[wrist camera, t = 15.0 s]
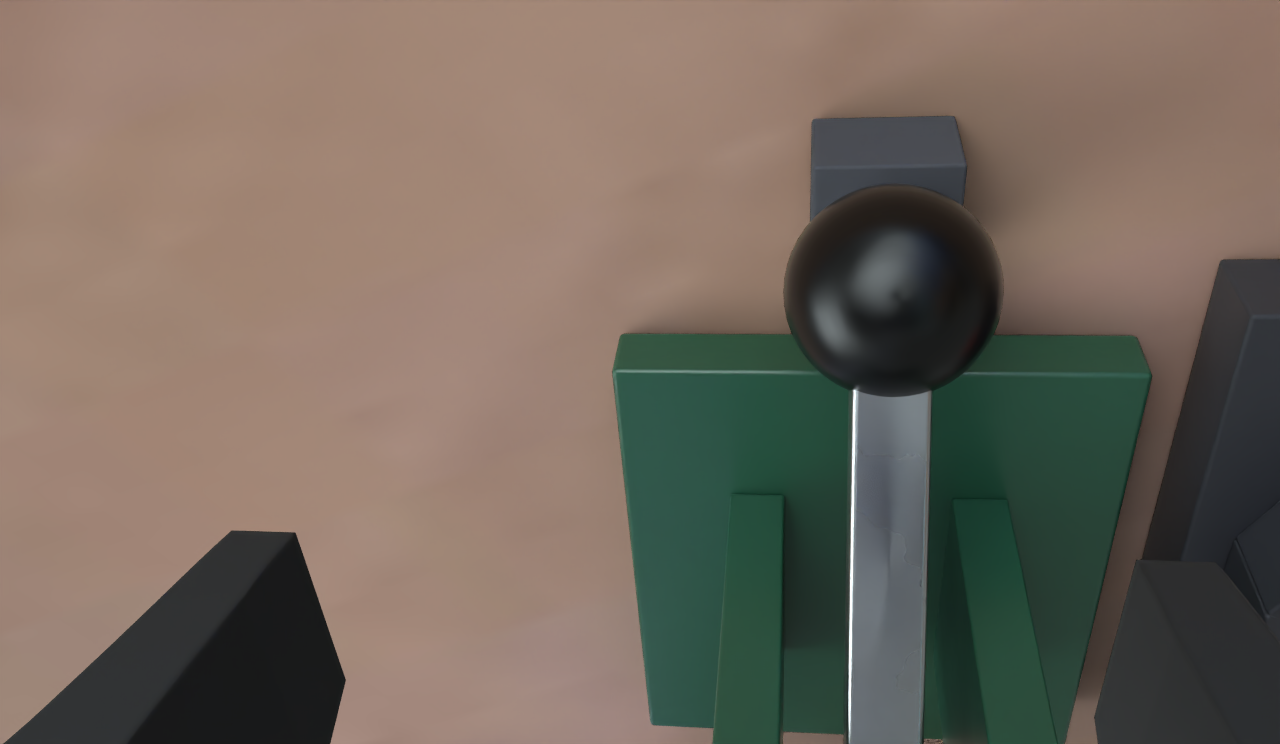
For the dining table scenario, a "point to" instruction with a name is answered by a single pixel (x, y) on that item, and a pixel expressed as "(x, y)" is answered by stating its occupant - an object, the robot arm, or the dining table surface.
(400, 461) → the dining table surface
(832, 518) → the rod bracket
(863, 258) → the rod
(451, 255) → the dining table surface
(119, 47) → the dining table surface
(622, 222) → the dining table surface
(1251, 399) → the button box
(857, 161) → the block
